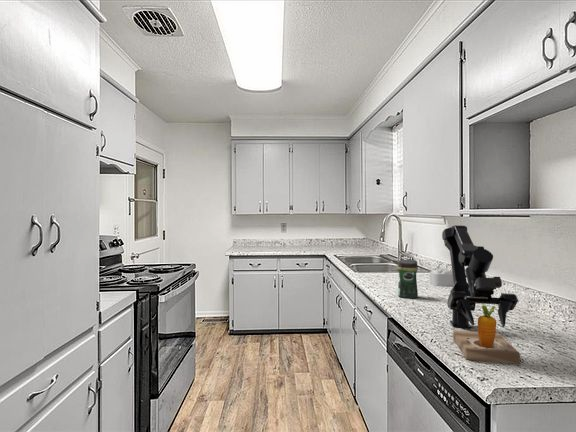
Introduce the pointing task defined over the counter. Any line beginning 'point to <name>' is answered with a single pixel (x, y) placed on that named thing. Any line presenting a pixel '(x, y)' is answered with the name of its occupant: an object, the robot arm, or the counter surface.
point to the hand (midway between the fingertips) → (488, 325)
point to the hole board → (474, 351)
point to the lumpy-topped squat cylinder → (441, 278)
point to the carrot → (486, 328)
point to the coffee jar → (407, 279)
